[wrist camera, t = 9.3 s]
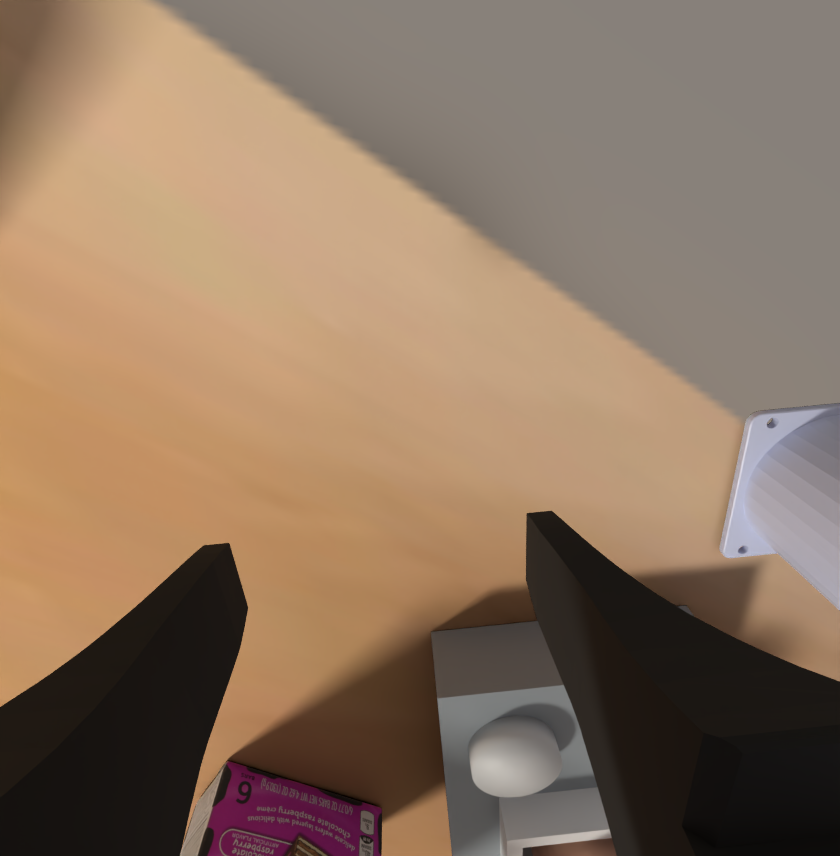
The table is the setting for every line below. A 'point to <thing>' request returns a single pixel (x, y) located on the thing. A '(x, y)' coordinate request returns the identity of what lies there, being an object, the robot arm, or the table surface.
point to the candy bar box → (278, 819)
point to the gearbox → (511, 744)
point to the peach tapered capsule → (577, 848)
